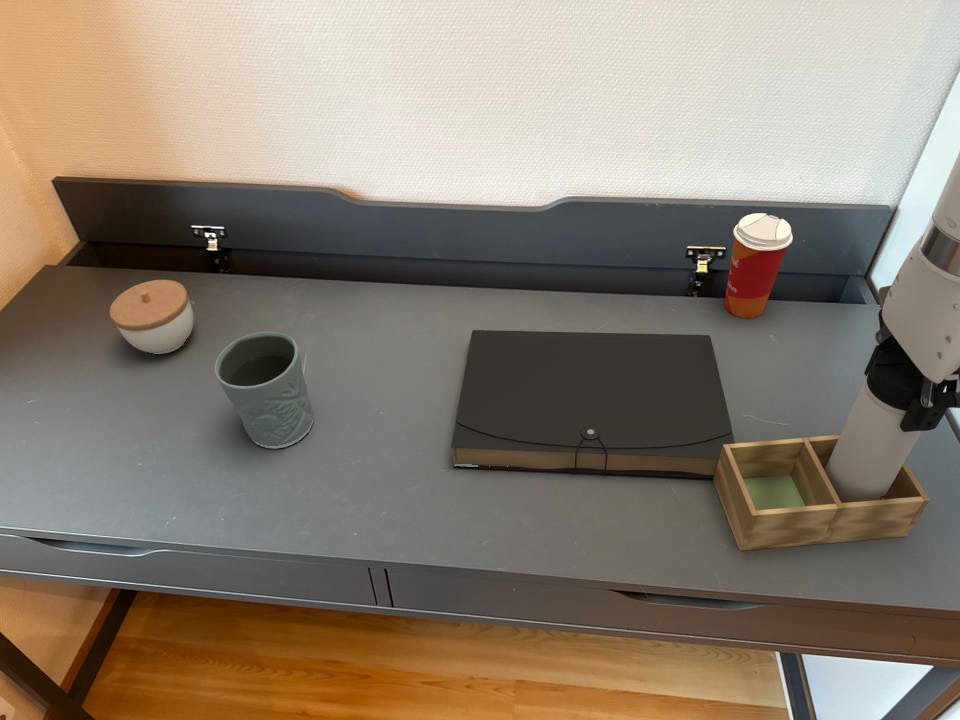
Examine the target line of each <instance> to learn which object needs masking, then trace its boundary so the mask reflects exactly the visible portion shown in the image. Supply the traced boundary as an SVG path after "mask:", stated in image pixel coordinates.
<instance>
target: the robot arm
mask: <svg viewBox="0 0 960 720" xmlns="http://www.w3.org/2000/svg"><path fill="white" fill-rule="evenodd" d="M878 301H879V308H880V309H879V311H878V314H877V317H878V323H879V329H878V331H876V332H875V335H874V339H875V342H876V343H877V344H876V345H875V346H874V348H873V352H872V353H871V356H870V359H869V360H868V363H867V365H866V367H865V369H864V371H863V375H865V377H866V376H867V375H868V373H869V371H870V370H871V367H872V364H873V362H874V360H875V358H876V356H877V355H878V354H879V353H880V352H881V351H882V350H884V349H886V348H889V347H891V346H896V345H901V347H902V348H903V349H904V351H905V352H906V353H907V355H908V356H909V357H910V359H911V360H912V361H913V362H914V364H915V365H916V366H917V368H918V369H919V370H920V371H921V372H922V374H923V375H924V376H923V383H922V390H921V397H917V398H914V399H913V400H912V402H911V404H910V406H909V408H908V410H907V412H906V413H905V415H904V417H903V419H902V421H901V423H900V428H901V430H902V431H903V432H911V431H921V432H929V431H932V430H935V429H937V428H938V426H939V424H940V422H941V421H942V419H943V417H944V416H945V414H946V412H947V411H948V409H960V151H959V152H958V155H957V157H956V159H955V161H954V163H953V166H952V169H951V170H950V173H949V175H948V177H947V180H946V182H945V183H944V186H943V188H942V190H941V192H940V195H939V198H938V200H937V201H936V204H935V207H934V209H933V212H932V214H931V215H930V218H929V220H928V222H927V224H926V228H925V229H924V231H923V233H922V234H921V235H920V237H919V238H918V239H917V241H916V242H915V243H914V245H913V247H912V248H911V249H910V251H909V252H908V254H907V256H906V258H904V261H903V262H902V264H901V266H900V267H899V270H898V271H897V272H896V275H895V277H894V279H893V281H892V282H891V284H890V285H886V286H880V288H878ZM942 381H947V386H946V387H945V391H943V392H937V393H936V391H937V384H938V383H941V382H942Z"/></svg>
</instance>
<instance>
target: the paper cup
mask: <svg viewBox="0 0 960 720" xmlns="http://www.w3.org/2000/svg"><path fill="white" fill-rule="evenodd" d="M733 236H734V240H733V247H732V253H731V259H730V265H729V272H728V279H727V285H726V290H725V291H726V292H725V300H724V307H725V310H726V311H728V312H729V314H731V315H733V316H735V317H738V318H741V319H753V318H757V317H759V316H761V315H762V314H763V312H764V310H765V308H766V306H767V303H768V300H769V297H770V296H771V295H770V294H771V292H772V289H773V287H774V284H775V281H776V278H777V277H778V273H779V270H780V268H781V265H782V262H783V260H784V257H785V254H786V252H787V249H788V246H790V244H792V243H793V239H794V237H793V233H792V227H791V225H790V223H789V222H788V221H787V220H785V219H783V218H781V219H780V218H779V217H778V216H774V215H772V214H770V215H768V214H767V213H765V212H764V213H763V212H760V213H757V212H756V213H751V214H747V215H745V216H743V217H742V218H740V220H739V221H738V223H737V224H736V225H735V227H734V228H733Z"/></svg>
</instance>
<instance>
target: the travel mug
mask: <svg viewBox="0 0 960 720" xmlns="http://www.w3.org/2000/svg"><path fill="white" fill-rule="evenodd" d="M923 376H924V375H923V374H922V372H921V371H920V370H919V369H918V368H917V366H916V365H915V364H914V362H913V361H912V360H911V359H910V357H909V356H908V355H907V353H906V352H905V351H904V349H903V348H902V347H901V345H896V346H891V347H889V348H886V349H884V350H882V351H881V352H880V353H879V354H878V355H877V356H876V358H875V360H874V362H873V364H872V367H871V370H870V371H869V373H868V375H867V376H866V375H865V380H864V381H863V382H862V385H861V387H860V390H859V392H858V394H857V396H856V399H855V401H854V403H853V405H852V408H851V410H850V412H849V415H848V417H847V419H846V421H845V423H844V426H843V428H842V430H841V432H840V434H839V435H840V437H839V439H838V441H837V443H836V446H835V448H834V450H833V452H832V455H831V457H830V459H829V461H828V464H827V466H826V468H825V470H824V471H825V473H826V475H827V477H828V478H829V480H830V482H831V484H832V486H833V488H834V490H835V492H836V494H837V495H838V497H839V499H840V501H841V503H850V502H862V501H873V500H883V499H884V497H885V495H886V493H887V492H888V490H889V488H890V486H891V485H892V483H893V481H894V479H895V478H896V476H897V474H898V472H899V470H900V469H901V467H902V465H903V463H904V462H906V460H907V458H908V457H909V455H910V453H911V451H912V449H913V447H914V446H915V445H916V442H917V441H918V439H919V437H920V435H921V433H922V431H911V432H903V431H902V430H901V428H900V423H901V421H902V419H903V417H904V415H905V413H906V412H907V410H908V408H909V406H910V404H911V402H912V400H913V399H914V398H917V397H921V390H922V383H923ZM946 387H947V381H942V382H941V383H938V384H937V391H936V393H937V392H945V390H946Z"/></svg>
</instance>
